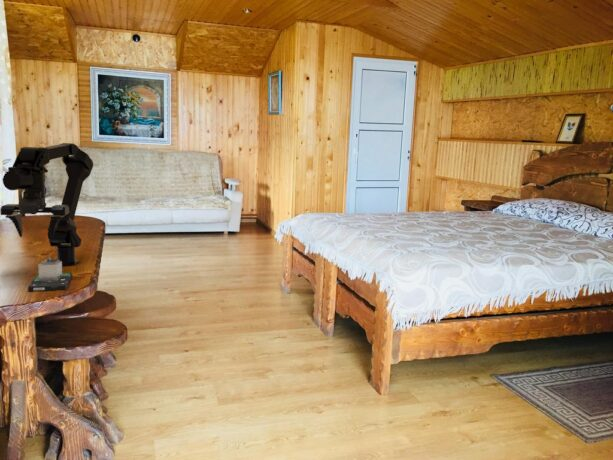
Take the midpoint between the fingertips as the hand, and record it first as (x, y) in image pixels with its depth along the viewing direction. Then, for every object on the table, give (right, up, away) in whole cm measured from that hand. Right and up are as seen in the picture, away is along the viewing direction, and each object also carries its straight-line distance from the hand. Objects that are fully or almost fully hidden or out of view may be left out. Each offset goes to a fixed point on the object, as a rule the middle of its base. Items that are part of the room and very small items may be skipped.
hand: (36, 236), depth 172 cm
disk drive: (+9, -15, -9) cm, 20 cm away
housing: (+9, -13, -9) cm, 18 cm away
